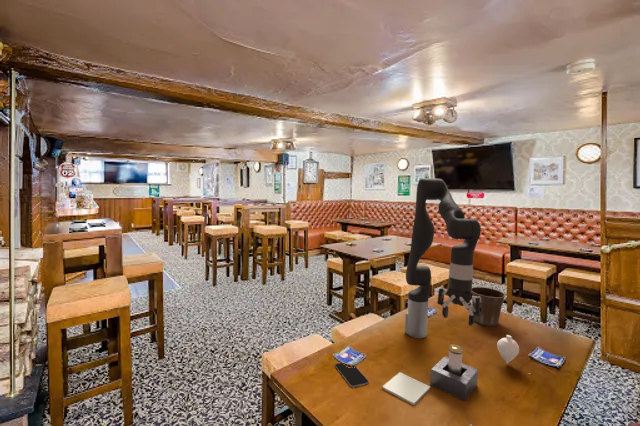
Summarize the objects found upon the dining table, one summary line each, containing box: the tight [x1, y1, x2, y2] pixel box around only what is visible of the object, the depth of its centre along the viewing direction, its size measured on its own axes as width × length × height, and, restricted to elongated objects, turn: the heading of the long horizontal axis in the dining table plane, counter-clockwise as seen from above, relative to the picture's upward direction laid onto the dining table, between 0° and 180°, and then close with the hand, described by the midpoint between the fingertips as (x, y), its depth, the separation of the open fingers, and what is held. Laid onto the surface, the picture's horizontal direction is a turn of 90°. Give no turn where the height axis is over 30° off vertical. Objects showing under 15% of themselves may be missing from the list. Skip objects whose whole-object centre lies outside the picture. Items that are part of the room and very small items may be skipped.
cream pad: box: [382, 372, 431, 406], centre depth 111 cm, size 12×12×1 cm
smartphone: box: [334, 362, 370, 388], centre depth 119 cm, size 7×1×15 cm
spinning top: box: [496, 334, 520, 365], centre depth 127 cm, size 8×8×12 cm
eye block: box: [429, 356, 479, 402], centre depth 113 cm, size 12×12×6 cm
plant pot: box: [471, 286, 506, 327], centre depth 167 cm, size 16×16×16 cm
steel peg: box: [448, 344, 464, 377], centre depth 113 cm, size 5×5×14 cm
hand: (457, 321), depth 112 cm, fingers open, 8 cm apart
